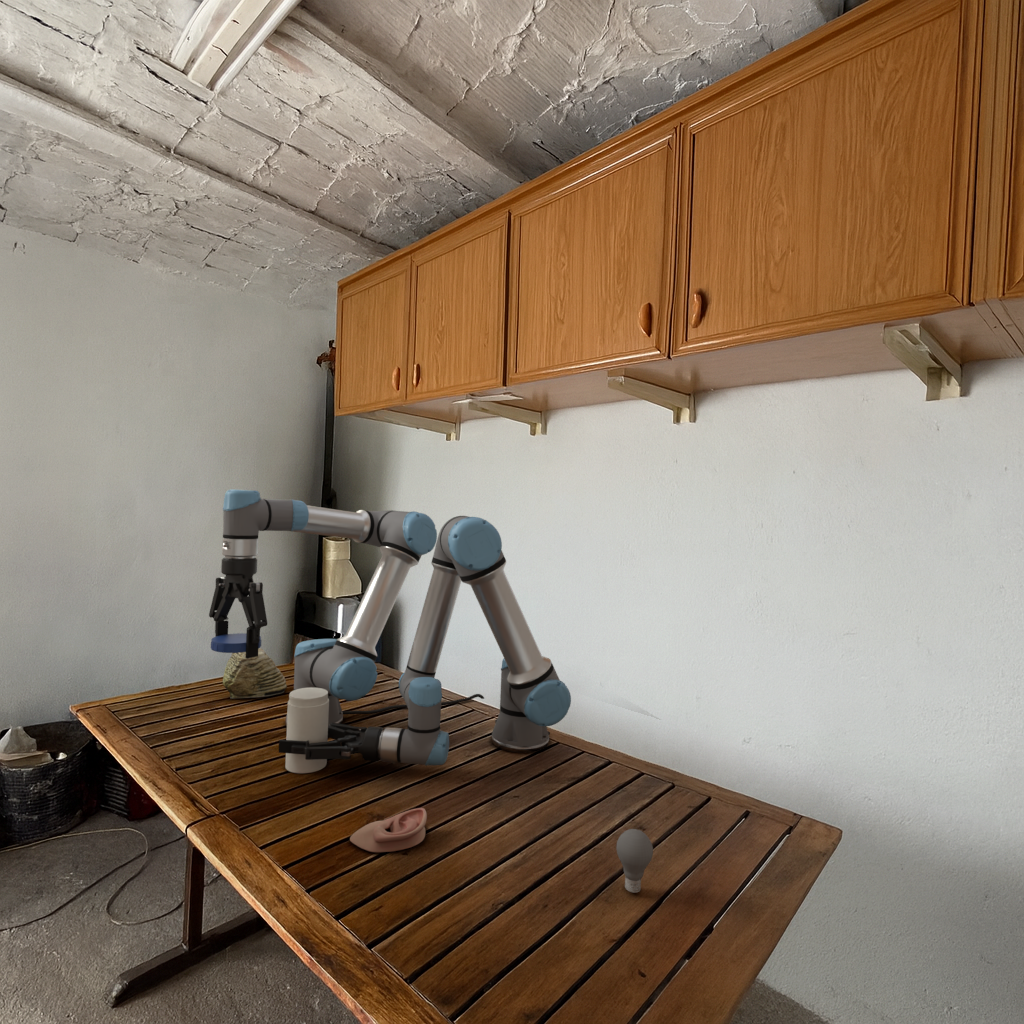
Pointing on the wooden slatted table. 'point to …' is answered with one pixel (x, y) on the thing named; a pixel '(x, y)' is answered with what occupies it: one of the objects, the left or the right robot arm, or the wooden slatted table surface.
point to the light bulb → (634, 857)
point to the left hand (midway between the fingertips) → (236, 653)
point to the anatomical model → (392, 832)
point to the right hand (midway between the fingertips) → (288, 737)
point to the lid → (230, 643)
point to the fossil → (253, 676)
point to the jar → (307, 726)
